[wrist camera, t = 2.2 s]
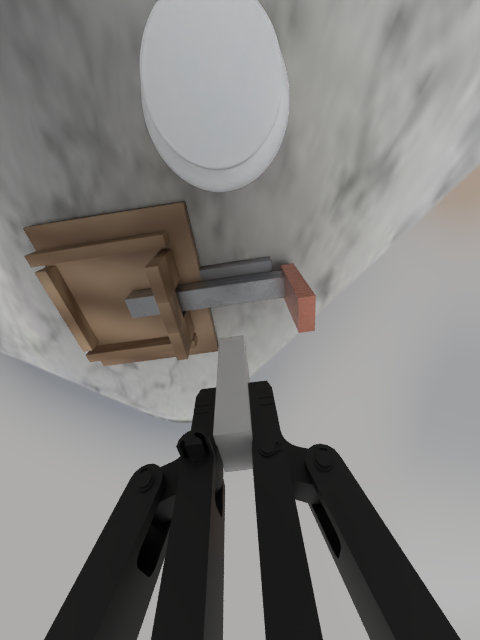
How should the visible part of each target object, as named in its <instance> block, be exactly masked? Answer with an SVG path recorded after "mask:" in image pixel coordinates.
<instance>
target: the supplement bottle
mask: <svg viewBox="0 0 480 640" xmlns="http://www.w3.org/2000/svg"><path fill="white" fill-rule="evenodd" d="M140 78H141V100H142V108H143V114H144V118H145V122H146V126H147V129H148V132H149V135H150V137H151V139H152V141H153V143H154V145H155V147H156V149H157V151H158V153H159V154H160V156H161V157H162V159H163V160H164V161H165V163H166V164H167V165H168V166H169V167H170V168H171V169H172V170H173V171H174V172H175V173H176V174H177V175H178V176H179V177H181V178H182V179H183V180H185V181H186V182H188V183H189V184H191V185H193V186H195V187H197V188H200V189H203V190H206V191H211V192H228V191H233V190H237V189H239V188H242V187H244V186H246V185H248V184H250V183H251V182H253V181H254V180H255V179H257V178H258V177H259V176H260V175H261V174H262V173H263V172H264V171H265V170H266V169H267V168H268V166H269V165H270V164H271V162H272V161H273V159H274V158H275V156H276V154H277V152H278V150H279V148H280V146H281V143H282V141H283V138H284V135H285V131H286V127H287V122H288V117H289V82H288V76H287V71H286V67H285V63H284V60H283V57H282V54H281V52H280V48H279V44H278V40H277V36H276V34H275V31H274V28H273V26H272V23H271V21H270V19H269V17H268V15H267V14H266V12H265V10H264V9H263V7H262V6H261V5H260V3H259V2H258V0H158V1H157V2H156V3H155V5H154V7H153V9H152V11H151V13H150V15H149V17H148V20H147V23H146V25H145V29H144V33H143V37H142V43H141V50H140Z"/></svg>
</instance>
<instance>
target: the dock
mask: <svg viewBox="0 0 480 640" xmlns="http://www.w3.org/2000/svg"><path fill="white" fill-rule="evenodd" d="M23 229H24V231H25V232H26V234H27V236H28V238H29V239H30V241H31V243H32V244H33V246H34V248H35V249H36V251H35V252H33V253H31V254H28V255H26V256H25V258H26V260H27V261H28V263H29V264H30V266H31V267H37V266H43V265H45V268H43V269H41V270H39V271H37V272H35V274H36V276H37V277H38V279H39V281H40V282H41V284H42V285H43V287H44V289H45V290H46V292H47V294H48V295H49V297H50V298H51V300H52V302H53V303H54V305H55V306H56V308H57V310H58V311H59V313H60V315H61V316H62V318H63V319H64V321H65V323H66V324H67V326H68V327H69V329H70V331H71V332H72V334H73V335H74V337H75V339H76V340H77V342H78V344H79V345H80V347H81V348H82V350H83V352H85V351H89V352H88V353H87V354H86V356H87V358H88V360H89V361H90V362H94V361H101V362H102V364H103V366H109V365H116V364H124V363H132V362H139V361H147V360H155V359H162V358H170V357H176V358H177V360H183V359H188V356H189V355H193V354H200V353H208V352H216V351H218V347H219V344H218V340H217V336H216V331H215V327H214V323H213V319H212V314H211V310H210V308H203V309H196V310H188V311H181V308H180V305H179V301H178V298H177V295H176V292H175V288H176V286H177V285H182V284H189V283H195V282H202V281H209V280H216V279H223V278H230V277H237V276H244V275H251V274H258V273H265V272H272V262H271V258H270V257H263V258H256V259H250V260H243V261H236V262H229V263H222V264H216V265H209V266H202V267H200V263H199V259H198V254H197V250H196V246H195V241H194V237H193V233H192V229H191V224H190V220H189V216H188V211H187V207H186V203H185V201H183V202H176V203H170V204H164V205H158V206H151V207H145V208H139V209H132V210H126V211H120V212H114V213H107V214H101V215H95V216H89V217H82V218H76V219H70V220H63V221H57V222H51V223H45V224H38V225H32V226H29V227H25V228H23ZM147 289H152V292H153V295H154V297H155V300H156V303H157V306H158V308H159V311H160V315H153V316H145V317H138V318H132V316H131V314H130V311H129V309H128V307H127V304H126V302H125V299H126V298H127V296H128V295H129V294H130V293H131V292H133V291H140V290H147Z"/></svg>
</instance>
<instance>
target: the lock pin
mask: <svg viewBox="0 0 480 640" xmlns="http://www.w3.org/2000/svg"><path fill="white" fill-rule="evenodd" d="M175 292H176V295H177V298H178V301H179V305H180V308H181V311H188V310H196V309H203V308H210V307H217V306H224V305H232V304H239V303H246V302H253V301H260V300H267V299H275V298H282V297H284V299H285V302H286V304H287V306H288V309H289V311H290V313H291V316H292V318H293V320H294V323H295V325H296V327H297V330H298V332H299V333H301V332H308V331H314V330H315V298H316V295H315V294H314V293H313V291H312V290H311V288H310V287H309V285H308V284H307V283H306V281H305V280H304V278H303V277H302V275H301V274H300V272H299V271H298V270H297V268H296V267H295V265H294V264H293V263H292V264H285V265H281V270H279V271H272V272H265V273H258V274H251V275H244V276H237V277H230V278H223V279H216V280H209V281H202V282H195V283H189V284H182V285H177V286H176V288H175ZM125 302H126V304H127V307H128V309H129V311H130V314H131V316H132V318H138V317H145V316H153V315H160V311H159V308H158V306H157V303H156V300H155V297H154V295H153V292H152V289H147V290H140V291H133V292H131V293H130V294H129V295H128V296H127V298H126V299H125Z"/></svg>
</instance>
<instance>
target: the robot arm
mask: <svg viewBox="0 0 480 640" xmlns="http://www.w3.org/2000/svg"><path fill="white" fill-rule="evenodd" d="M176 447H177V449H178V451H179V454H180V457H179V458H178V459H176V460H175V461H173V462H171V463H169V464H167V465H164V466H162V467H159V466H158V465H155V464H147V465H145V466H143V467H141V468H140V469H139V470H137V471H136V472H135V473H134V474H133V476H132V477H131V479H130V481H129V483H128V484H127V486H126V488H125V490H124V492H123V494H122V496H121V497H120V499H119V501H118V503H117V505H116V507H115V508H114V510H113V512H112V514H111V516H110V518H109V520H108V522H107V523H106V525H105V527H104V529H103V531H102V533H101V535H100V536H99V538H98V540H97V542H96V544H95V546H94V548H93V549H92V552H91V553H90V555H89V557H88V559H87V561H86V563H85V564H84V566H83V568H82V570H81V572H80V574H79V576H78V577H77V579H76V581H75V583H74V585H73V587H72V589H71V591H70V592H69V595H68V596H67V598H66V600H65V602H64V604H63V606H62V607H61V609H60V611H59V613H58V615H57V617H56V618H55V620H54V622H53V624H52V626H51V628H50V630H49V632H48V633H47V636H46V637H45V639H44V640H137V637H138V634H139V631H140V628H141V626H142V623H143V620H144V617H145V614H146V611H147V608H148V605H149V602H150V599H151V596H152V593H153V590H154V587H155V584H156V582H157V579H158V576H159V573H160V569H161V567H162V564H163V561H164V558H165V561H164V566H163V573H162V578H161V584H160V591H159V596H158V602H157V608H156V614H155V619H154V625H153V631H152V637H151V640H223V589H224V587H223V586H224V521H225V484H224V480H223V468H224V471H225V472H229V471H238V470H247V469H253V475H254V488H255V502H256V513H257V514H256V515H257V528H258V541H259V554H260V567H261V581H262V595H263V608H264V620H265V634H266V640H323V638H322V633H321V628H320V623H319V618H318V613H317V608H316V603H315V598H314V593H313V588H312V583H311V578H310V573H309V567H308V563H307V557H306V553H305V548H304V542H303V537H302V532H301V527H300V522H299V517H298V512H297V507H296V502H295V499H296V500H299V501H303V502H306V503H308V504H309V506H310V508H311V511H312V513H313V515H314V517H315V519H316V522H317V523H318V526H319V528H320V530H321V533H322V535H323V537H324V539H325V541H326V544H327V545H328V548H329V550H330V552H331V554H332V557H333V559H334V561H335V563H336V565H337V568H338V570H339V572H340V574H341V576H342V578H343V581H344V583H345V585H346V587H347V589H348V592H349V594H350V596H351V598H352V601H353V603H354V605H355V607H356V609H357V611H358V614H359V616H360V618H361V620H362V622H363V625H364V627H365V629H366V631H367V633H368V635H369V638H370V640H461V639H460V638H459V636H458V635H457V633H456V632H455V630H454V629H453V627H452V626H451V624H450V623H449V621H448V620H447V618H446V616H445V615H444V613H443V612H442V610H441V609H440V607H439V606H438V604H437V603H436V601H435V600H434V598H433V597H432V595H431V594H430V592H429V591H428V589H427V588H426V586H425V585H424V583H423V582H422V580H421V579H420V577H419V575H418V574H417V572H416V571H415V569H414V568H413V566H412V565H411V563H410V562H409V560H408V559H407V557H406V556H405V554H404V553H403V551H402V550H401V548H400V547H399V545H398V543H397V542H396V540H395V539H394V537H393V536H392V534H391V533H390V531H389V530H388V528H387V527H386V526H385V524H384V522H383V521H382V519H381V518H380V516H379V514H378V513H377V512H376V510H375V508H374V507H373V505H372V504H371V502H370V501H369V499H368V498H367V496H366V495H365V493H364V492H363V490H362V489H361V487H360V485H359V484H358V482H357V481H356V480H355V478H354V476H353V475H352V473H351V472H350V470H349V469H348V467H347V466H346V464H345V463H344V461H343V460H342V458H341V457H340V455H339V454H338V453H337V452H336V451H335V449H333V448H331V447H330V446H328V445H324V444H316V445H313V446H312V447H310V448H309V449H307V448H302V447H297V446H294V445H292V444H290V443H289V442H287V441H286V440H285V439H284V437H283V436H282V434H281V431H280V426H279V421H278V416H277V411H276V406H275V401H274V396H273V391H272V387H271V386H270V385H269V383H268V382H267V381H259V382H251V383H250V379H249V369H248V362H247V356H246V350H245V344H244V337H243V336H236V337H228V338H221V339H220V340H219V355H218V369H217V384H216V388H208V389H201V390H200V392H199V394H198V395H197V397H196V401H195V408H194V415H193V421H192V427H191V431H189V432H187V433H186V434H184V435H183V436H182V437H181V438H180V440H179V441H178V444H177V446H176Z"/></svg>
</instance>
